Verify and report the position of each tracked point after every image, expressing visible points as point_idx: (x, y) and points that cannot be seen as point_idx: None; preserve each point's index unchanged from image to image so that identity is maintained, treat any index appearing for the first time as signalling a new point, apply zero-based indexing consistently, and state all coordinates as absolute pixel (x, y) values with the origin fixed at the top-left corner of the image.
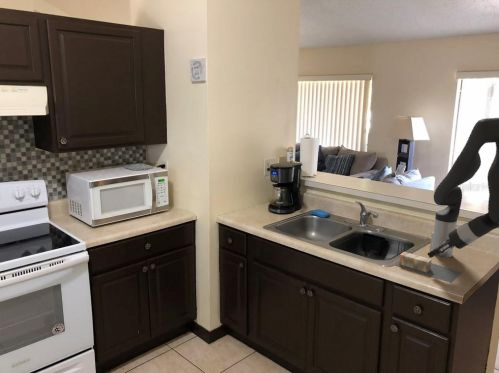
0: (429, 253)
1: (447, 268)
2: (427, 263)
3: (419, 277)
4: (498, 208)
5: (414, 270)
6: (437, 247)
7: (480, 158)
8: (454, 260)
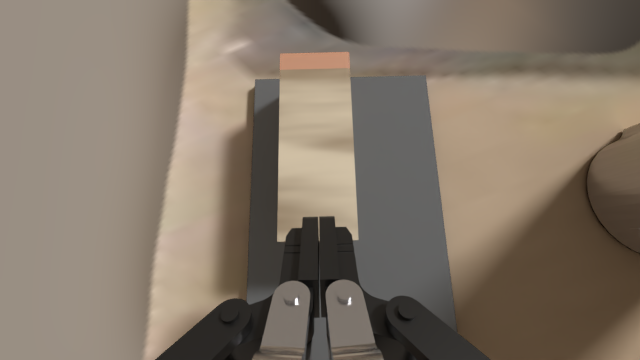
0: (301, 233)
1: (442, 318)
2: (277, 241)
3: (219, 232)
4: None
5: (263, 183)
6: (276, 338)
7: None
8: (627, 293)
